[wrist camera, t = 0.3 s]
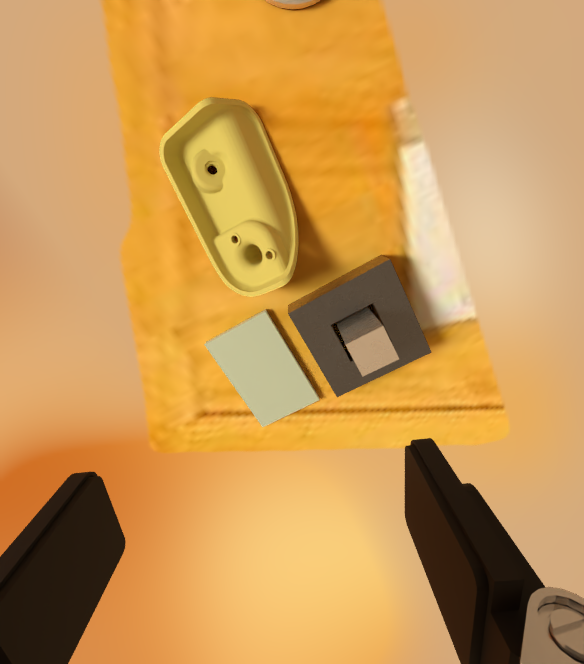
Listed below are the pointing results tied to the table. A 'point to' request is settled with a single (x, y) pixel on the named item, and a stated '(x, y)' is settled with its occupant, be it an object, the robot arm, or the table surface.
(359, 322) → the beige peg
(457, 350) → the table surface
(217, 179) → the plastic component
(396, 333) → the socket block
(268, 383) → the sage mat
